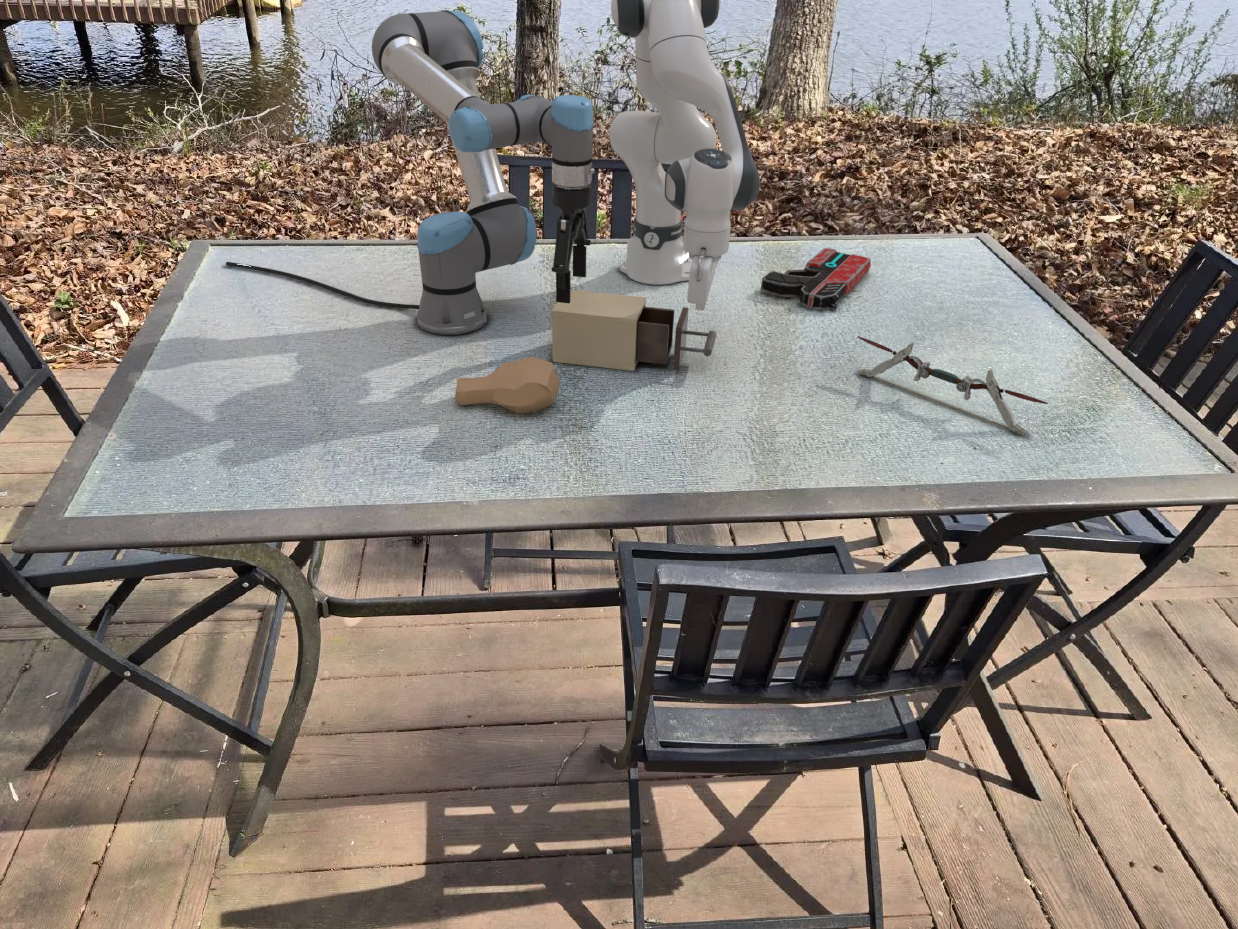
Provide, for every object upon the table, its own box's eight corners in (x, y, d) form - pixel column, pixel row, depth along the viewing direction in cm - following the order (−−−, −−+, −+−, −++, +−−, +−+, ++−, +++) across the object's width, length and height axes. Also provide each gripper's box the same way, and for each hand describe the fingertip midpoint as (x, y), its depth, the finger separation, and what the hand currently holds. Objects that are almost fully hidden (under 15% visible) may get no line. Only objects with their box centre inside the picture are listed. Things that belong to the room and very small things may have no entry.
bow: (1038, 437, 161) (1054, 389, 156) (1034, 440, 160) (1051, 392, 155) (853, 367, 183) (861, 323, 177) (848, 370, 182) (857, 326, 176)
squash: (562, 419, 163) (554, 381, 157) (456, 427, 164) (445, 390, 158) (565, 383, 171) (557, 345, 164) (464, 391, 172) (453, 354, 166)
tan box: (643, 347, 189) (646, 297, 182) (634, 371, 179) (636, 319, 173) (566, 338, 191) (565, 288, 185) (552, 361, 182) (551, 310, 176)
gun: (758, 278, 211) (834, 298, 203) (804, 240, 233) (875, 256, 225) (755, 296, 213) (831, 316, 205) (802, 256, 235) (872, 273, 227)
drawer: (714, 351, 185) (718, 310, 180) (709, 373, 177) (713, 331, 172) (612, 340, 189) (613, 299, 184) (602, 361, 180) (603, 319, 175)
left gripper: (575, 206, 156) (574, 316, 168) (605, 167, 176) (602, 268, 188) (535, 202, 157) (537, 311, 169) (568, 164, 177) (568, 264, 189)
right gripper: (716, 260, 158) (710, 330, 166) (727, 224, 175) (721, 290, 183) (682, 257, 159) (677, 327, 167) (696, 222, 176) (691, 287, 184)
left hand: (571, 288), depth 179 cm, fingers open, 13 cm apart
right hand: (700, 307), depth 175 cm, fingers closed
